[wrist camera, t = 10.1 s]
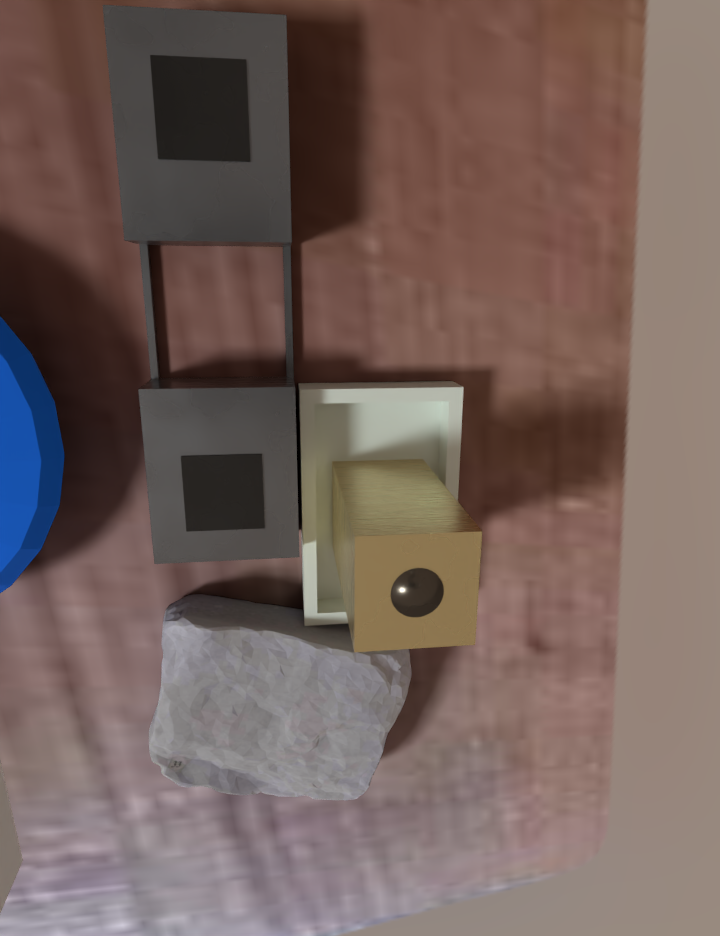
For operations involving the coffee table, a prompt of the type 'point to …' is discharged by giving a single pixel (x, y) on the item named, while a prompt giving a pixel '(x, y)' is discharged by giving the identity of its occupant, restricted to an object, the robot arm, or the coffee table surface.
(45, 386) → the blue funnel disc
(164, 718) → the stone block
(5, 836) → the robot arm
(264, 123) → the rack rail
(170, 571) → the coffee table surface
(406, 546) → the wooden drawer with knob
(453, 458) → the parts tray
